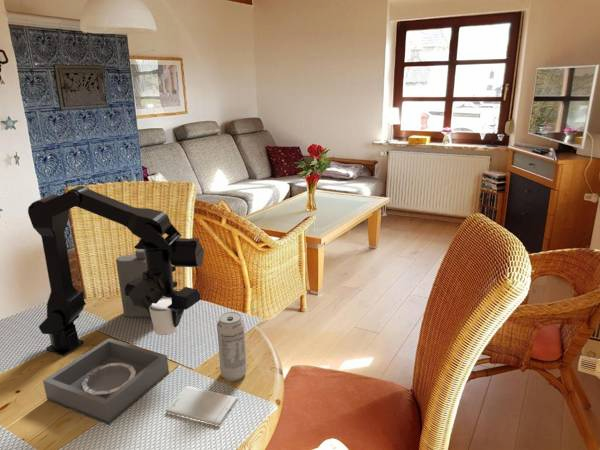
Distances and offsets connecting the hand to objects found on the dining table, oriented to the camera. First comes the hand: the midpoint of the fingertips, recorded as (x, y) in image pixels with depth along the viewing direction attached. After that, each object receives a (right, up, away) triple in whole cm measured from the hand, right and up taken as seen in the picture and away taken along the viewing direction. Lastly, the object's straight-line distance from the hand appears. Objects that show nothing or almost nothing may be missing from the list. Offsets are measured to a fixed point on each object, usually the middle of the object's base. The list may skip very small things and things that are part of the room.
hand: (165, 323), depth 113 cm
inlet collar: (-9, -12, -10) cm, 18 cm away
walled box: (-9, -12, -10) cm, 18 cm away
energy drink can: (+18, -11, -6) cm, 22 cm away
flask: (-11, -2, +21) cm, 24 cm away
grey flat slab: (+13, -15, -16) cm, 25 cm away
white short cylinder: (0, -2, +1) cm, 2 cm away
